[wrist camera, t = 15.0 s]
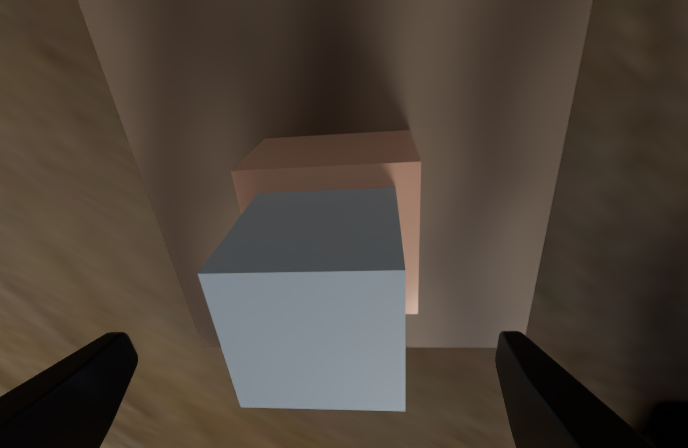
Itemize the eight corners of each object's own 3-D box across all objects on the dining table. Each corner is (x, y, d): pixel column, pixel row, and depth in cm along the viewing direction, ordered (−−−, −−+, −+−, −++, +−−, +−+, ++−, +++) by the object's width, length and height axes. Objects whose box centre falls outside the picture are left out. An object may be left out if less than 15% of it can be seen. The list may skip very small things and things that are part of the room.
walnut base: (577, -66, 13) (608, -81, 11) (510, 321, 21) (522, 347, 19) (107, -12, 15) (71, -18, 13) (216, 322, 23) (202, 346, 21)
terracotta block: (410, 129, 14) (421, 161, 11) (409, 256, 17) (417, 313, 14) (264, 138, 15) (230, 170, 12) (286, 259, 18) (264, 314, 14)
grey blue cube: (395, 187, 11) (405, 270, 7) (397, 299, 13) (405, 411, 10) (257, 192, 12) (197, 273, 8) (279, 300, 14) (240, 407, 10)
